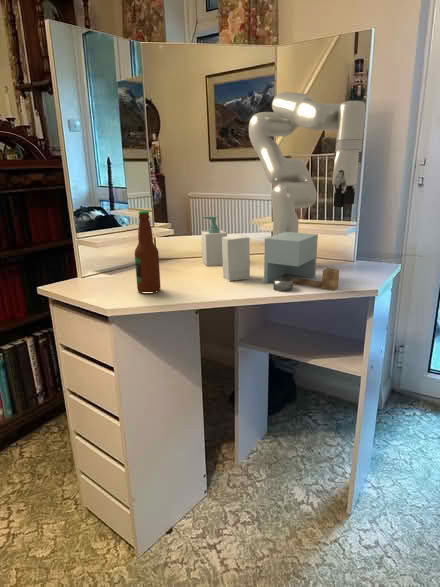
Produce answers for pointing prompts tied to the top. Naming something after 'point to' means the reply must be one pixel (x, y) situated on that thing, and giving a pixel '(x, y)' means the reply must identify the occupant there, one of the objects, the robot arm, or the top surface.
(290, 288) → the puck
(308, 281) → the brown piece
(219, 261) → the soap bottle
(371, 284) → the top surface
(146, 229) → the bottle
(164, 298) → the top surface
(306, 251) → the cabinet
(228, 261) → the skincare box
